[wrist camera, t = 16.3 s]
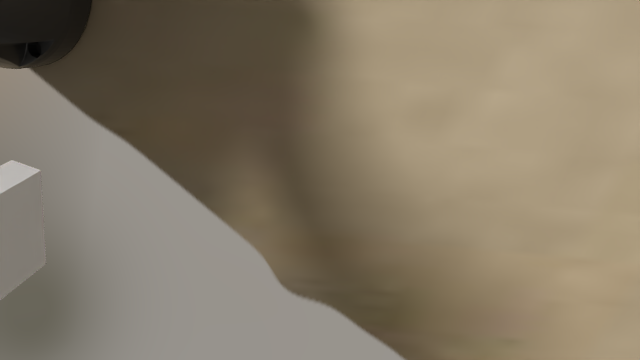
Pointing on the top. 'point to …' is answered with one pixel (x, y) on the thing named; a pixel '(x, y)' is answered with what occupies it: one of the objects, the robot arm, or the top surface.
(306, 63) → the top surface
